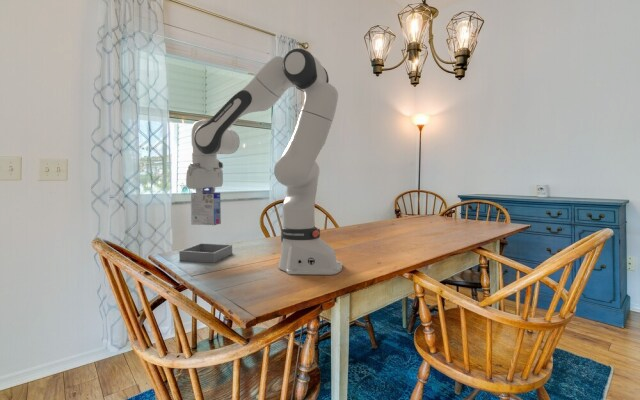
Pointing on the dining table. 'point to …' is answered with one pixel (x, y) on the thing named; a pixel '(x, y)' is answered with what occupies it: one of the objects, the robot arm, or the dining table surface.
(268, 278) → the dining table surface
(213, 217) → the ink cartridge box
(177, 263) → the dining table surface
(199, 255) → the bin
